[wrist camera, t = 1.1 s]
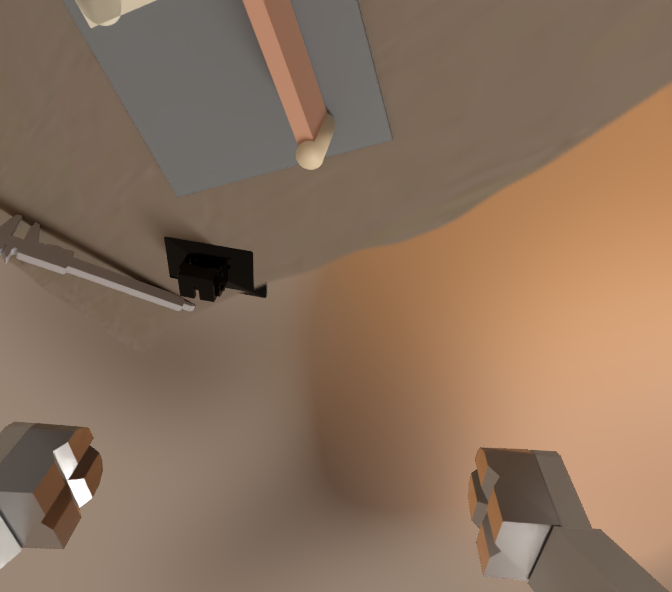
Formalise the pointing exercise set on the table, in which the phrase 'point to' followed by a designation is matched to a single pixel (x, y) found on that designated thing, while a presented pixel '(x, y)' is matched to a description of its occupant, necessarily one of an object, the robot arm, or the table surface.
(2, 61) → the table surface
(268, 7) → the fence panel
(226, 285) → the black angular piece
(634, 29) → the table surface
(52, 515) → the robot arm
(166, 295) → the caliper
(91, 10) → the board
